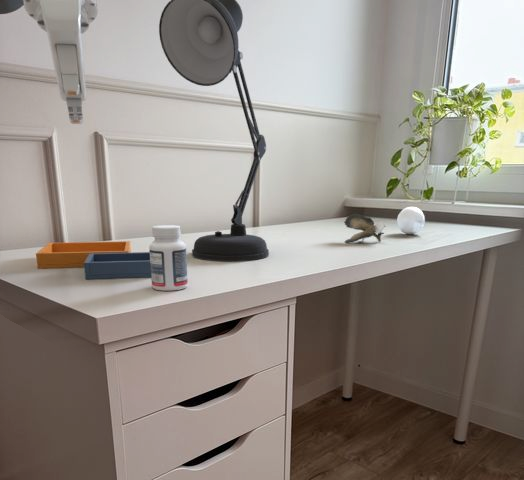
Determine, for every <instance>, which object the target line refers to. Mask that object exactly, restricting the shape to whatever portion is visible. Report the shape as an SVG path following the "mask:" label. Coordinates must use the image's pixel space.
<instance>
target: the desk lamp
mask: <svg viewBox="0 0 524 480" xmlns="http://www.w3.org/2000/svg"><path fill="white" fill-rule="evenodd" d="M243 19H244V15H243V10H242V7H241V5H240V3H239V2H238V1H237V0H169V1H168V2H167V4H166V5H165V6H164V7H163V10H162V11H161V15H160V18H159V24H158V35H159V41H160V44H161V45H160V46H161V49H162V50H163V54H164V56H165V57H166V59H167V61H168V63H169V64H170V66H171V67H172V68H173V70H175V72H176V73H177V74H179V75H180V76H181V77H182V78H183V79H184V80H186V81H188V82H190V83H192V84H194V85H197V86H201V87H210V86H211V87H212V86H215V85H218V84H220V83H222V82H223V81H225V80H226V79H227V77H228V76H229V74H231V73H232V75H233V78H234V81H235V86H236V89H237V93H238V95H239V99H240V100H239V101H240V103H241V107H242V110H243V114H244V118H245V121H246V126H247V128H248V132H249V136H250V138H251V139H250V140H251V143H252V146H253V149H254V150H253V161H252V164H251V167H250V169H249V173H248V175H247V179H246V182H245V185H244V188H243V189H242V191H241V193H240V194H239V196H238V198H237V200H236V201H235V204H233V205H232V208H233V214H232V218H231V219H230V222H231V225H230V233H223V232H222V231H219V230H217V231H215V232H214V233H213V234H206V235H202V236H200V237H198V238H197V239H196V240H195V241H194V244H193V249H192V250H191V256H192V257H193V258H195V259H198V260H204V261H205V260H206V261H214V262H246V261H255V260H256V261H257V260H261V259H265V258H268V257H269V255H270V253H269V252H270V250H269V249H268V246H267V243H266V239H264V238H263V237H260V236H257V235H255V234H254V235H253V234H247V227H246V224H244V223H243V214H244V211H245V209H246V205H247V201H248V200H249V196H250V193H251V190H252V187H253V184H254V181H255V178H256V175H257V172H258V169H259V166H260V163H261V160H262V158H263V157H264V155H265V154H266V151H267V142H266V139H265V135H263V134H261V133H260V130H259V127H258V122H257V119H256V115H255V111H254V108H253V103H252V100H251V96H250V92H249V88H248V84H247V81H246V76H245V73H244V69H243V66H242V62H241V60H243V58H244V54H243V52H242V51H240V50H239V47H240V46H239V34H238V33H239V31H240V30H241V28H242V25H243ZM237 69H238V70H237ZM238 73H239V75H238ZM239 77H240V79H239ZM240 80H241V83H240ZM241 84H242V86H241ZM242 88H243V89H242ZM243 91H244V93H243ZM244 95H245V97H244ZM245 98H246V101H245ZM246 102H247V104H246ZM247 105H248V108H247ZM248 109H249V112H248ZM249 113H250V115H249Z"/></svg>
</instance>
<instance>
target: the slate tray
mask: <svg viewBox="0 0 524 480" xmlns="http://www.w3.org/2000/svg"><path fill="white" fill-rule="evenodd" d="M83 269H84V278H85V280H105V279H131V278H136V279H137V278H138V279H139V278H151V265H150V252H149V251H142V252H141V251H139V252H131V253H91V254H89V255H88V257H87V259H86V260H85V262H84V267H83Z"/></svg>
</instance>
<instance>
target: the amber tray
mask: <svg viewBox="0 0 524 480" xmlns="http://www.w3.org/2000/svg"><path fill="white" fill-rule="evenodd" d="M91 253H132V247H131V241H130V240H129V241H128V240H125V241H120V240H119V241H118V240H117V241H77V242H76V241H75V242H74V241H73V242H71V241H70V242H66V241H65V242H48V243H47V244H45V245H44V246H43V247H41V248H40V249H39V250H38V251H37V252H36V253H35V258H36V266H37V269H64V268H67V269H68V268H84V262H85V260H86V259H87V257H88V255H89V254H91Z"/></svg>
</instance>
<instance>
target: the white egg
mask: <svg viewBox="0 0 524 480" xmlns="http://www.w3.org/2000/svg"><path fill="white" fill-rule="evenodd" d="M425 218H426V217H425V214H424V212H423V211H422V210H421V209H420V208H418V207H416V206H407V207H405V208H403V209H402V210H400V212H399V214H398V215H397V218H396V225H397V227H398V229H399V230H400V231H401V232H402V233H403V234H406V235H415V234H417V233H418V232H420V231H421V230H422V229H423V227H424V225H425V222H426V219H425Z"/></svg>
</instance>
